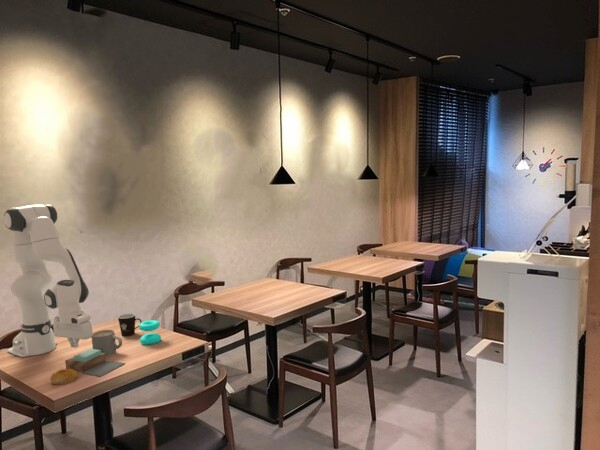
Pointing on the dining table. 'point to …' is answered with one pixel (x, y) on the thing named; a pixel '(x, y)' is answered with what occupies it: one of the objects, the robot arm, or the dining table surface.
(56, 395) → the dining table surface
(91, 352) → the mint green block
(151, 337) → the donuts
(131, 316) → the coffee mug
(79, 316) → the robot arm
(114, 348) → the coffee mug
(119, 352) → the dining table surface
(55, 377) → the bagel
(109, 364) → the mat
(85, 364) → the brown block
